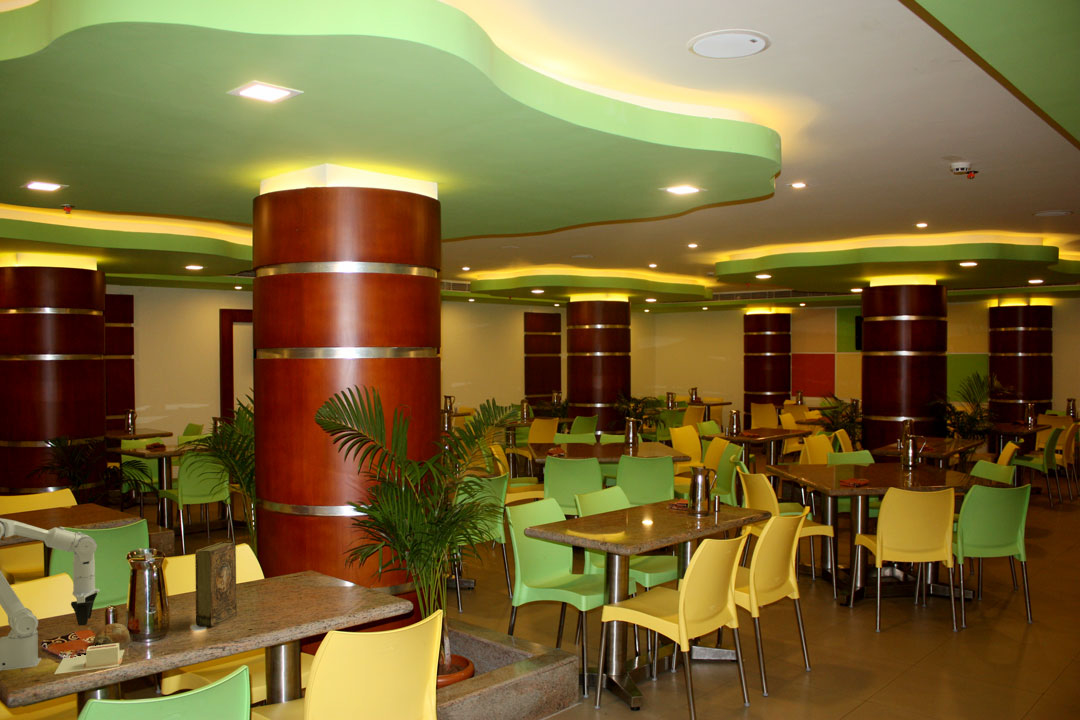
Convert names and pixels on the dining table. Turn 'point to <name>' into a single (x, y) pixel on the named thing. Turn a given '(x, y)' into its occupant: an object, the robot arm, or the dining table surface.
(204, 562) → the book
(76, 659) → the mat
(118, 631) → the bread roll
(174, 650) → the dining table surface
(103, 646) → the card box
